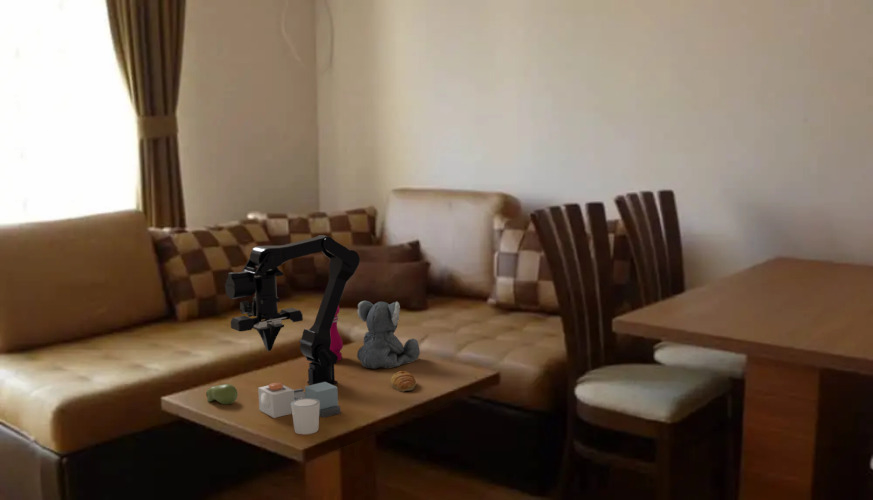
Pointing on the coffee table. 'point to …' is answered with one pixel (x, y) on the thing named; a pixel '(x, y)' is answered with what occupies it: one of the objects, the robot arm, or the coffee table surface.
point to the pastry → (403, 381)
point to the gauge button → (275, 387)
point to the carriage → (323, 394)
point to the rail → (324, 412)
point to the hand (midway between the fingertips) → (268, 350)
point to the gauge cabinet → (275, 401)
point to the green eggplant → (222, 394)
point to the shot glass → (305, 415)
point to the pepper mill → (336, 338)
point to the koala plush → (384, 337)
